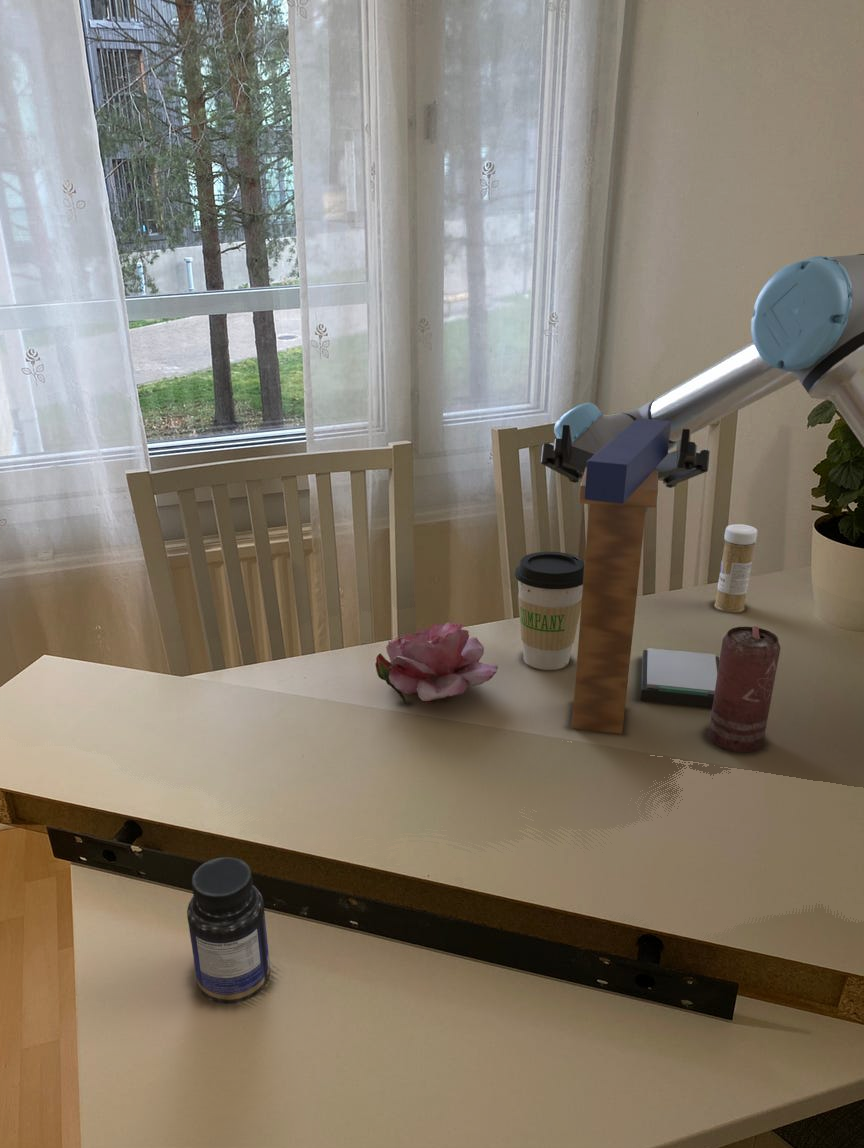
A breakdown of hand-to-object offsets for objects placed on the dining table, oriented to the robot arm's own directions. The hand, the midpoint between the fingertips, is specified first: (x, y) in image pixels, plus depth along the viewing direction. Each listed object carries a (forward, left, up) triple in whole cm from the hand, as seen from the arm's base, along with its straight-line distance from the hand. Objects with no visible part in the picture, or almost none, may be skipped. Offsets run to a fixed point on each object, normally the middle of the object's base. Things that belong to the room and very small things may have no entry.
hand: (624, 438), depth 106 cm
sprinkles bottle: (-18, -32, -34) cm, 50 cm away
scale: (-10, -4, -34) cm, 35 cm away
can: (-16, +9, -34) cm, 38 cm away
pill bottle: (+27, +58, -34) cm, 72 cm away
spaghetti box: (-1, +7, -3) cm, 7 cm away
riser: (0, +8, -34) cm, 35 cm away
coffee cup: (+8, -7, -34) cm, 35 cm away
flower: (+21, +6, -34) cm, 40 cm away
